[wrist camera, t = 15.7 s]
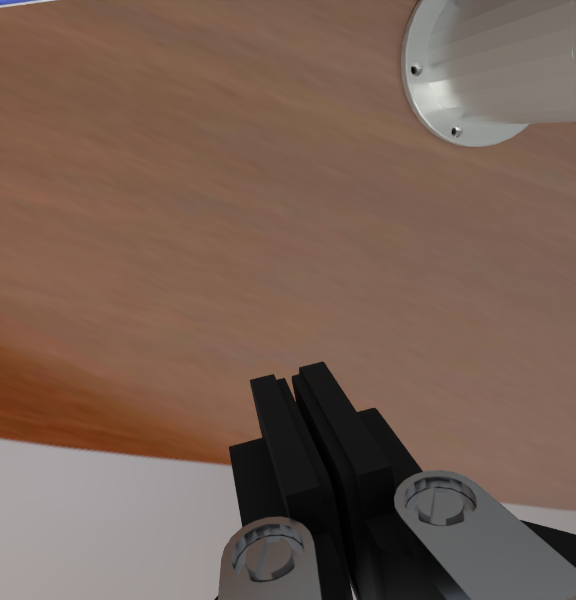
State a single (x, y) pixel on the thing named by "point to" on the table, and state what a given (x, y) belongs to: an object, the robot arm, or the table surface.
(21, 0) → the hard drive
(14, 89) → the table surface
